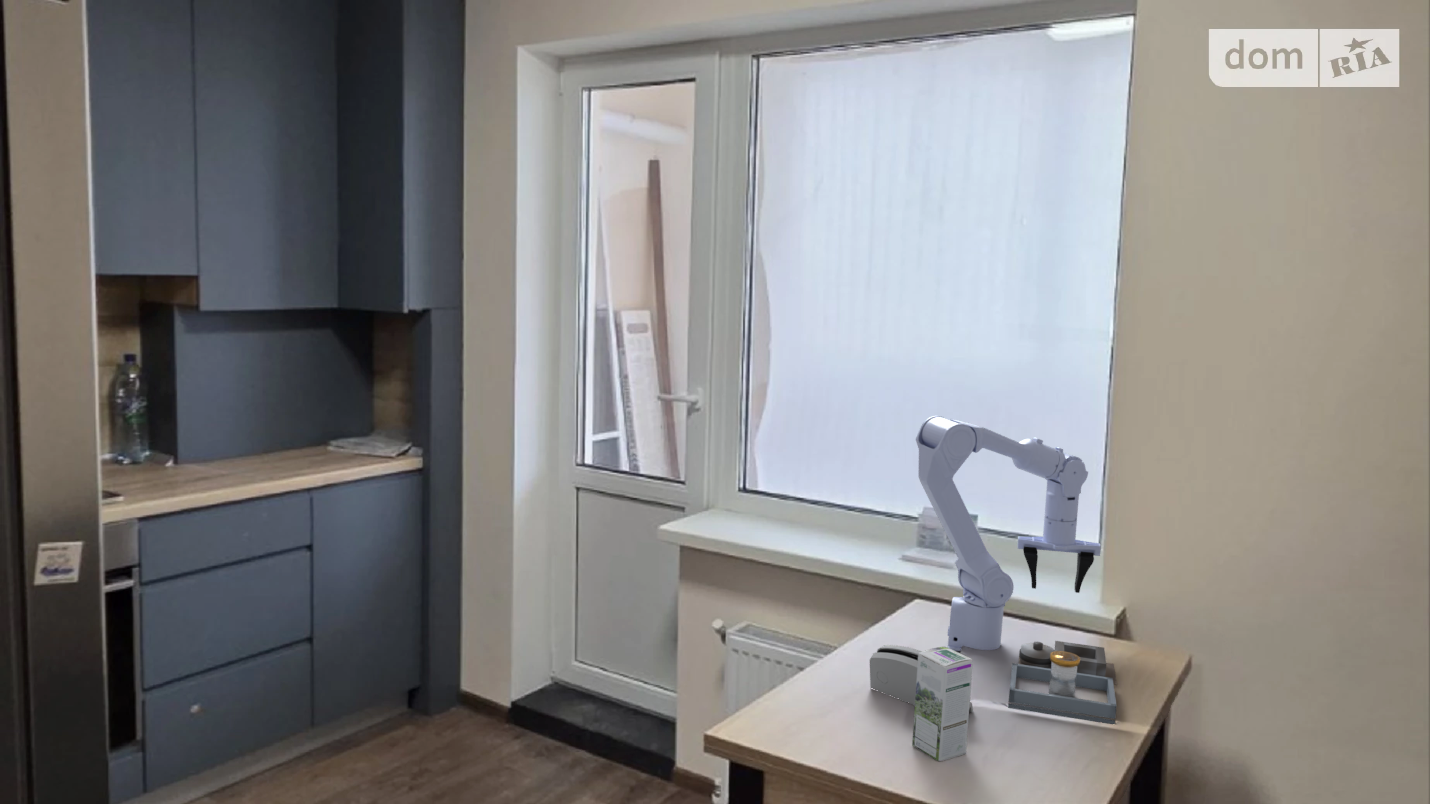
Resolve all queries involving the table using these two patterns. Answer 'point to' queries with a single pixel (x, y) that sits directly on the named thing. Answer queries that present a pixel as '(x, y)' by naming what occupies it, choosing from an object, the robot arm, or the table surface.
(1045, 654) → the board
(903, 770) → the table surface
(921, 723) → the syrup box
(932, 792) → the table surface
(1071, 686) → the gold-rimmed cylinder
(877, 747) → the table surface
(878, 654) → the grey toaster
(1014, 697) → the tray
